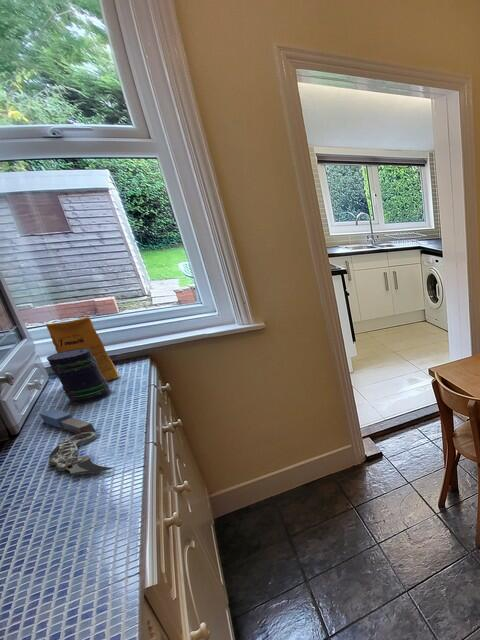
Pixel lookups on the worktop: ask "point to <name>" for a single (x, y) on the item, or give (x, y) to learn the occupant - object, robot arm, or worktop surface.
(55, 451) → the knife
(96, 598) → the worktop surface
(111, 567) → the worktop surface
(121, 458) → the worktop surface
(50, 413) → the blue bar
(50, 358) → the storage jar
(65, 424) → the walnut bar
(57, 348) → the coffee package
